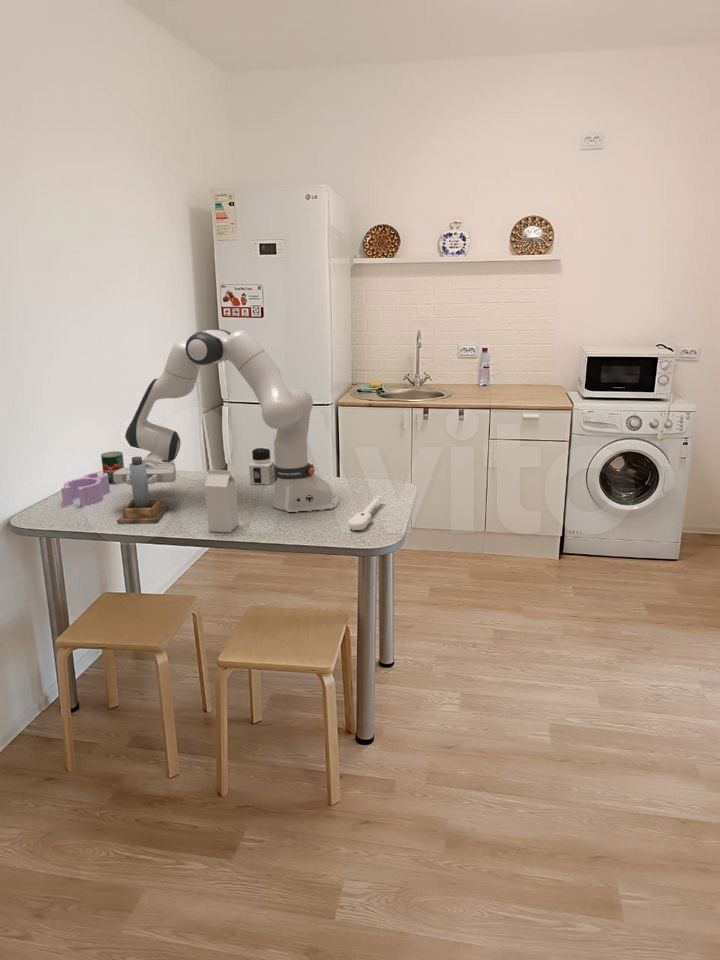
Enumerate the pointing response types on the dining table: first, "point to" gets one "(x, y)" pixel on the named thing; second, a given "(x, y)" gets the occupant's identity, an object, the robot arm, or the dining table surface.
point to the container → (261, 467)
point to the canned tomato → (112, 464)
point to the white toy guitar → (363, 516)
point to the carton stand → (143, 513)
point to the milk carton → (221, 501)
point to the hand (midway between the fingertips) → (138, 482)
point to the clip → (86, 489)
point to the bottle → (139, 482)
